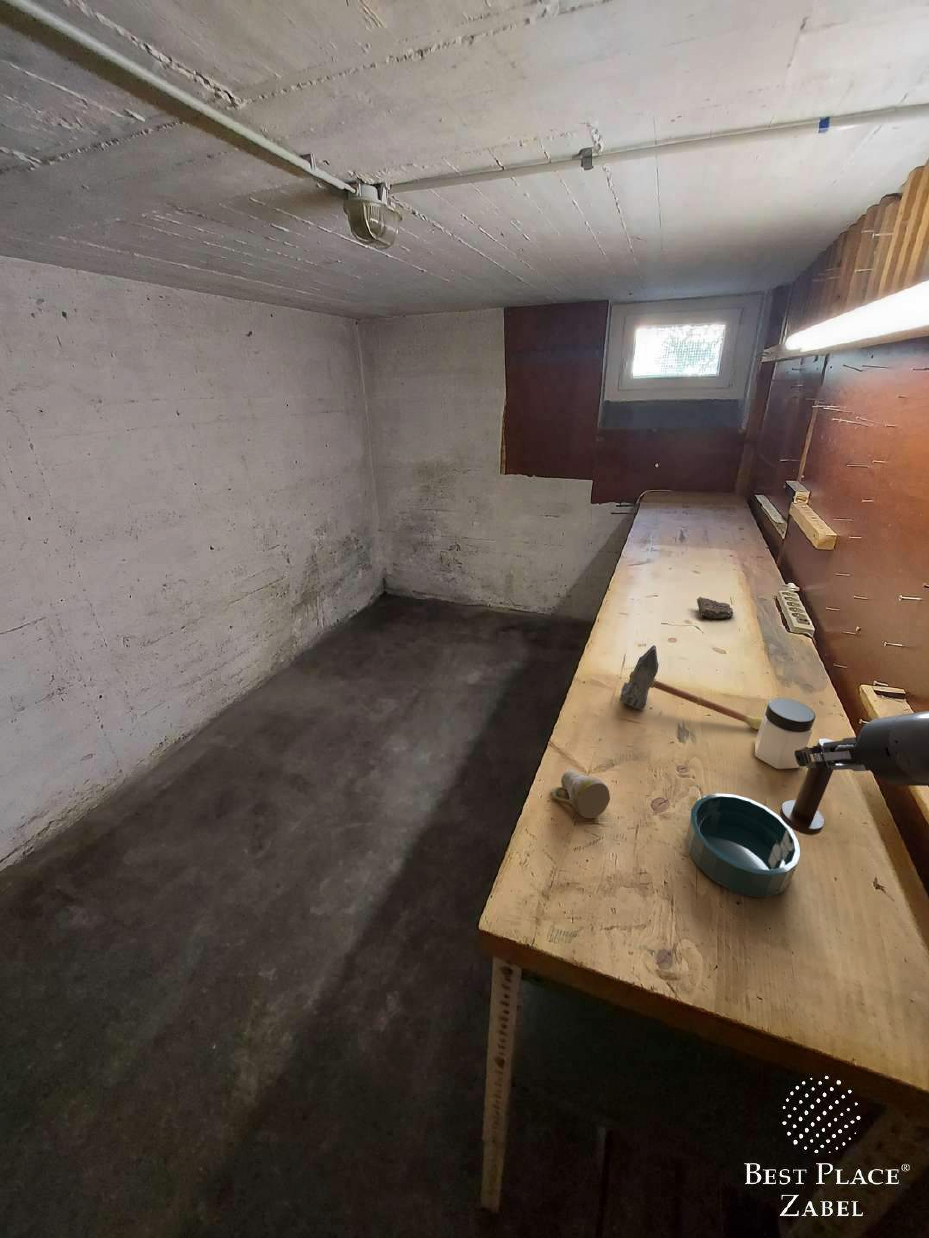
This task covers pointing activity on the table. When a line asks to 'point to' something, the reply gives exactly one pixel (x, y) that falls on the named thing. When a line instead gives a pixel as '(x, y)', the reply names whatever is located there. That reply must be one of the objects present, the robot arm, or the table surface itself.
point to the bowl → (742, 844)
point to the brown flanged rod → (808, 801)
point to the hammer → (668, 690)
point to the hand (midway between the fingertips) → (809, 757)
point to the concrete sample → (714, 608)
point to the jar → (783, 732)
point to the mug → (584, 794)
